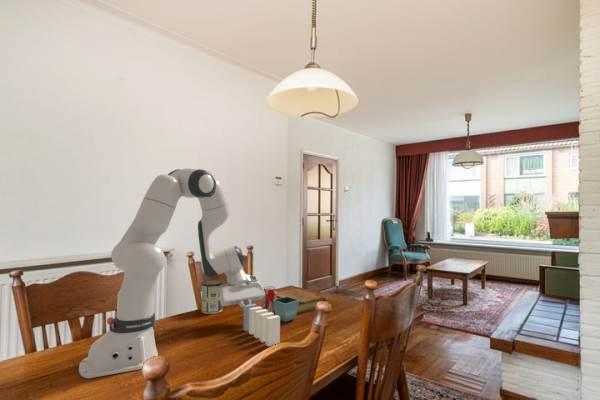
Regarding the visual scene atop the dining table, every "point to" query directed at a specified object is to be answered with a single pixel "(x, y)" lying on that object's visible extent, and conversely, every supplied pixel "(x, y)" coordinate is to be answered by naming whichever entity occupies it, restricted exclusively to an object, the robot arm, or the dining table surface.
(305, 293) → the diary
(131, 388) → the dining table surface
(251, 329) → the tile
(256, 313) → the tile
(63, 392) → the dining table surface
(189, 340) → the dining table surface
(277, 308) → the flower pot
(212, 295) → the coffee can
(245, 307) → the tile
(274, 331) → the tile
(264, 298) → the soda can
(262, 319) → the tile
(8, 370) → the dining table surface
